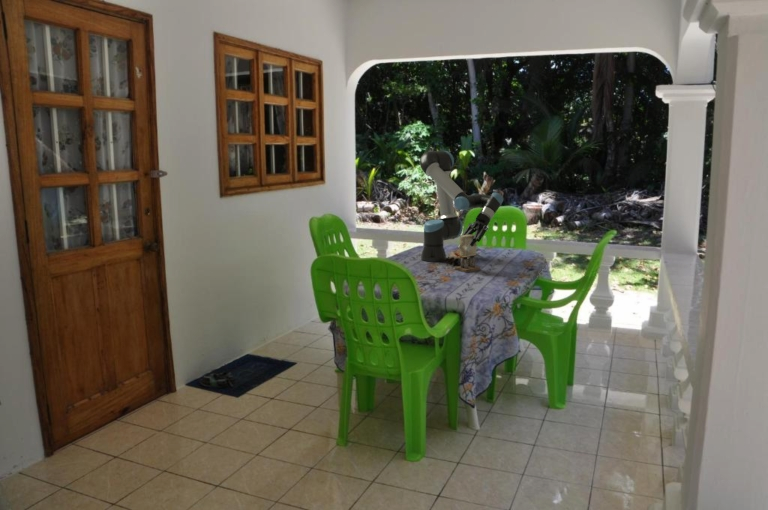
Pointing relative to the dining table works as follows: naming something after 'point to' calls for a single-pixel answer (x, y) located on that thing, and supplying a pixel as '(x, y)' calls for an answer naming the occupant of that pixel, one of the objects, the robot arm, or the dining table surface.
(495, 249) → the dining table surface
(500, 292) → the dining table surface
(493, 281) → the dining table surface
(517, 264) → the dining table surface
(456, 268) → the stand
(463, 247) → the beige mottled block
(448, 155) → the robot arm
